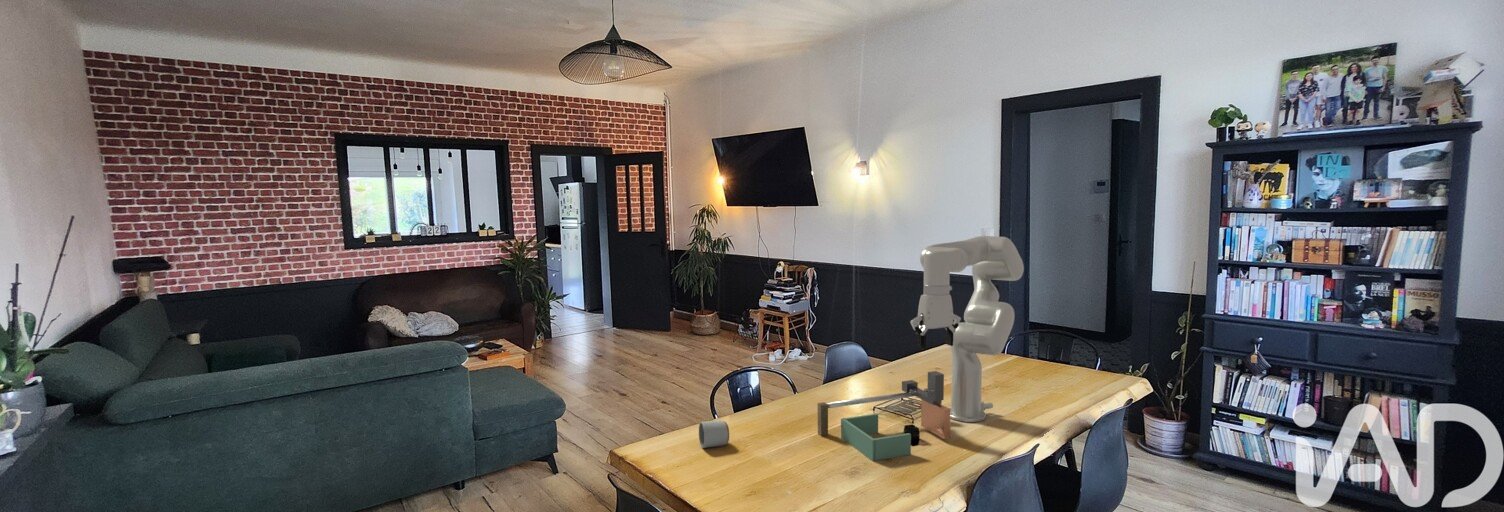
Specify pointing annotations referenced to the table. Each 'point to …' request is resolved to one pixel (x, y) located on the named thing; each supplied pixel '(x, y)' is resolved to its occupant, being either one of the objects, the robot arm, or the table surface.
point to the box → (874, 449)
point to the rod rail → (824, 406)
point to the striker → (932, 404)
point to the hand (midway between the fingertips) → (935, 346)
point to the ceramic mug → (713, 433)
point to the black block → (914, 435)
